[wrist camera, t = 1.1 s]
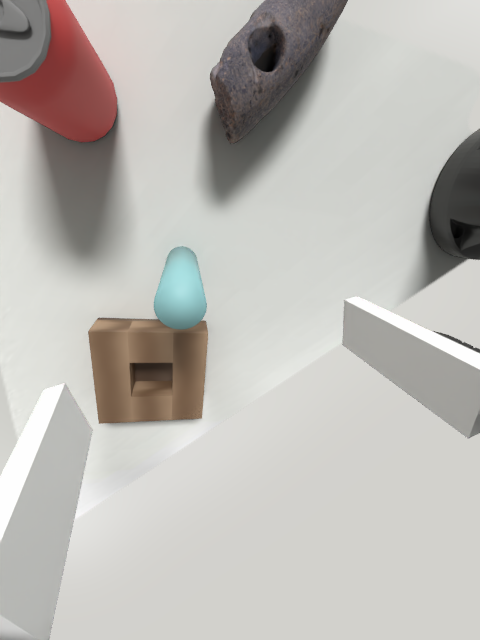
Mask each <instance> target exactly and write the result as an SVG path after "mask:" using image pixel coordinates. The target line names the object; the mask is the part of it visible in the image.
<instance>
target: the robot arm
mask: <svg viewBox="0 0 480 640" xmlns="http://www.w3.org/2000/svg"><path fill="white" fill-rule="evenodd" d="M430 224H431V230H432V233H433V236H434V238H435V240H436V242H437V244H438V245H439V246H440V247H441V248H442V249H443V250H444V251H445V252H447V253H449V254H451V255H453V256H458V257H463V258H468V259H478V260H480V129H479V130H477V131H476V132H474V133H473V134H472V135H470V136H469V137H468V138H467V139H466V140H465V141H464V142H463V143H462V144H461V145H460V146H459V147H458V148H457V149H456V151H455V152H454V153H453V154H452V156H451V157H450V159H449V160H448V162H447V163H446V165H445V167H444V168H443V170H442V172H441V174H440V176H439V179H438V181H437V184H436V186H435V189H434V193H433V196H432V201H431V208H430ZM342 345H343V346H345V347H346V348H347V349H349V350H350V351H351V352H353V353H354V354H355V355H357V356H358V357H359V358H361V359H362V360H364V361H365V362H366V363H367V364H369V365H370V366H371V367H373V368H374V369H376V370H377V371H378V372H380V373H381V374H382V375H384V376H385V377H386V378H388V379H389V380H390V381H392V382H393V383H394V384H396V385H397V386H398V387H400V388H401V389H402V390H404V391H405V392H406V393H408V394H409V395H410V396H412V397H413V398H415V399H416V400H417V401H418V402H420V403H421V404H422V405H424V406H425V407H427V408H428V409H429V410H431V411H432V412H433V413H435V414H436V415H437V416H439V417H440V418H442V419H443V420H444V421H445V422H447V423H448V424H449V425H451V426H452V427H454V428H455V429H456V430H458V431H459V432H460V433H461V434H463V435H464V436H465V437H467V438H470V437H472V436H474V435H476V434H478V433H480V349H478V348H473V346H471V345H469V344H467V343H462V342H461V341H460V340H458V339H455V338H454V337H451V336H449V335H446V334H442V333H438V332H435V331H431V330H428V329H426V328H424V327H422V326H420V325H418V324H416V323H413V322H411V321H409V320H407V319H405V318H403V317H401V316H398V315H396V314H394V313H392V312H390V311H388V310H386V309H383V308H381V307H379V306H377V305H375V304H373V303H371V302H369V301H366V300H364V299H362V298H360V297H358V296H356V297H353V298H349V299H346V300H344V321H343V344H342ZM92 431H93V430H92V428H91V426H90V425H89V423H88V421H87V420H86V418H85V416H84V414H83V413H82V411H81V409H80V408H79V406H78V404H77V402H76V401H75V399H74V397H73V396H72V394H71V392H70V390H69V389H68V387H67V385H66V384H65V383H63V384H60V385H57V386H53V387H50V388H46V389H44V390H43V392H42V394H41V396H40V398H39V400H38V402H37V404H36V406H35V408H34V410H33V412H32V414H31V416H30V418H29V420H28V422H27V424H26V426H25V428H24V430H23V432H22V434H21V436H20V438H19V440H18V442H17V444H16V446H15V448H14V450H13V452H12V454H11V456H10V458H9V460H8V462H7V464H6V466H5V468H4V470H3V472H2V474H1V476H0V640H49V638H50V633H51V628H52V624H53V619H54V614H55V609H56V604H57V599H58V594H59V590H60V585H61V580H62V575H63V571H64V566H65V561H66V556H67V551H68V546H69V541H70V537H71V532H72V527H73V522H74V518H75V513H76V508H77V503H78V498H79V494H80V489H81V484H82V479H83V474H84V469H85V465H86V460H87V455H88V450H89V445H90V441H91V436H92Z"/></svg>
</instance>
